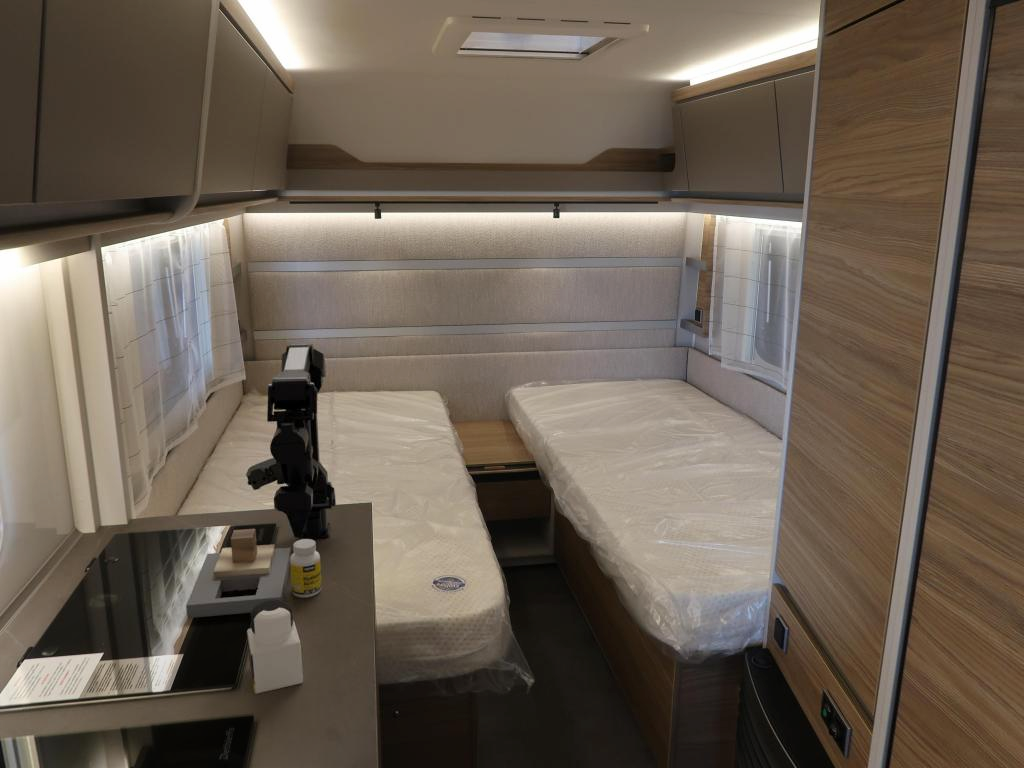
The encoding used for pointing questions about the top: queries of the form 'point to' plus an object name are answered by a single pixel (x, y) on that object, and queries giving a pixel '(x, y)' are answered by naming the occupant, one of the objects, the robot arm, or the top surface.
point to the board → (237, 587)
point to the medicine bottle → (274, 647)
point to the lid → (244, 556)
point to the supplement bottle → (305, 569)
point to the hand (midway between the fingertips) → (300, 526)
